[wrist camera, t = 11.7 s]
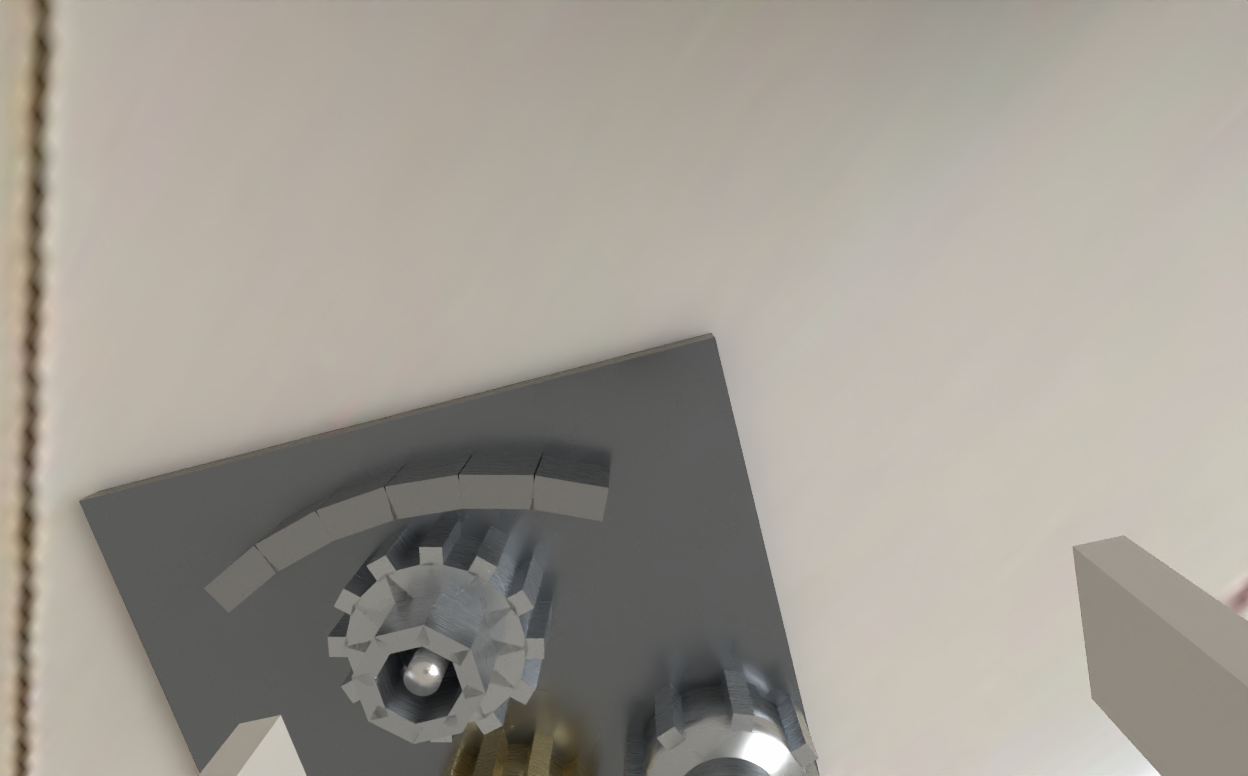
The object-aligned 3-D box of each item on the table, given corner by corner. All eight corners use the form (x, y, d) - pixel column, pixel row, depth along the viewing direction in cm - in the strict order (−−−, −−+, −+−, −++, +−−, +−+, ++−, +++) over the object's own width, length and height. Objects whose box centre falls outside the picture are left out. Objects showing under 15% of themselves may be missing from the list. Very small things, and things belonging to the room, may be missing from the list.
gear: (328, 544, 32) (268, 608, 26) (519, 497, 31) (496, 553, 26) (392, 714, 34) (347, 807, 28) (573, 672, 33) (563, 758, 28)
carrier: (99, 491, 33) (-52, 565, 25) (711, 333, 31) (736, 365, 24) (300, 951, 38) (222, 1122, 31) (832, 838, 36) (882, 990, 29)
